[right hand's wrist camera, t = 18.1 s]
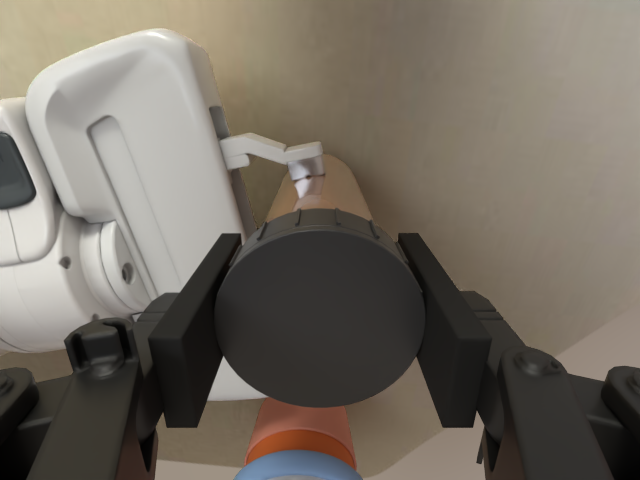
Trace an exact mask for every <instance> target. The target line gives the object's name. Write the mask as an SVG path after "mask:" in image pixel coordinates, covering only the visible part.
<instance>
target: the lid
mask: <svg viewBox="0 0 640 480" xmlns="http://www.w3.org/2000/svg"><path fill="white" fill-rule="evenodd" d="M407 263H409V262H408V260H407V258H406V256H405V254H404V253H403V251H402V249H401V247H400V245H399V243H398V242H396V243H395V242H394V241H393V240H392V239H391V238H390V237H389V236H388V235H387V234H386V233H385V232H384V231H383V230H382V229H380V228H379V227H378V226H376V225H375V224H374V221H373V220H371V219H370V221H368V220H366V219H365V218H363V217H360V216H357V215H355V214H352V213H349V212H345V211H341V210H339V208H336V207H335V209H327V208H312V209H304V210H301V208H298V209H297V211H295V212H291V213H287V214H285V215H282V216H280V217H277V218H275V219H273V220H272V221H270V222H268V223H267V222H266V221H265V222H264V223H263V225H262V227H261V228H259V229H258V230H257V231H255V232H254V233H253V234H252V235H251V236H250V237H249V238H248V239H247V241H246V242H245V243H244V245H243V246H242V245H241V244H240V246H239V247H238V249H237V251H236V253H235V255H234V257H233V258H232V260H231V262H230V264H229V266H231V267H230V269H229V271H228V273H227V275H226V277H225V279H224V281H223V283H222V285H221V287H220V289H219V291H218V293H217V295H216V302H215V308H214V326H215V334H216V338H217V342H218V345H219V348H220V350H221V352H222V354H223V356H224V358H225V359H226V361H227V362H228V364H229V365H230V367H231V368H232V369H233V370H234V372H235V373H236V374H237V375H238V376H239V377H240V378H241V379H242V380H243V381H245V382H246V383H247V384H248V385H250V386H251V387H252V388H254V389H255V390H257V391H259V392H260V393H262V394H264V395H266V396H268V397H270V398H273V399H275V400H277V401H280V402H284V403H287V404H291V405H296V406H301V407H311V408H329V407H339V406H344V405H349V404H353V403H356V402H359V401H362V400H365V399H367V398H369V397H372V396H374V395H376V394H377V393H379V392H381V391H383V390H385V389H386V388H387V387H389V386H390V385H391V384H393V383H394V382H395V381H396V380H397V379H398V378H399V377H401V376H402V375H403V374H404V372H405V371H406V370H407V369H408V368H409V366H410V365H411V363H412V362H413V360H414V359H415V357H416V356H417V353H418V351H419V349H420V347H421V344H422V340H423V337H424V332H425V324H426V310H425V304H424V299H423V296H422V295H423V292H422V290H421V288H420V286H419V284H418V282H417V280H416V278H415V276H414V274H413V272H412V271H411V270H410V268H409V266H408V264H407Z"/></svg>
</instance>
